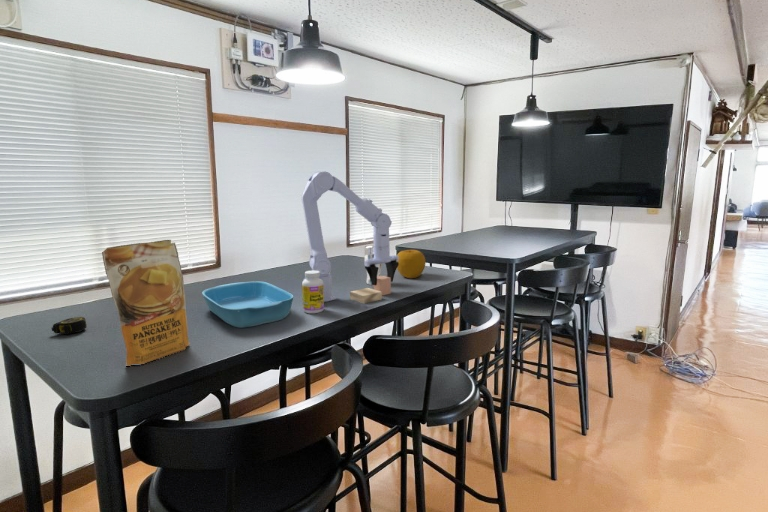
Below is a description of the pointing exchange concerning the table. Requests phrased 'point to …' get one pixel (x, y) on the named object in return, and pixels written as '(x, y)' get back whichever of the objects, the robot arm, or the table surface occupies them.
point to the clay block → (383, 285)
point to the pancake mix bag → (148, 299)
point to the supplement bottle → (313, 292)
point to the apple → (411, 263)
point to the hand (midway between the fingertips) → (382, 283)
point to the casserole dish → (248, 303)
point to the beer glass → (369, 255)
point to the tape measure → (70, 325)
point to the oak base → (365, 295)
